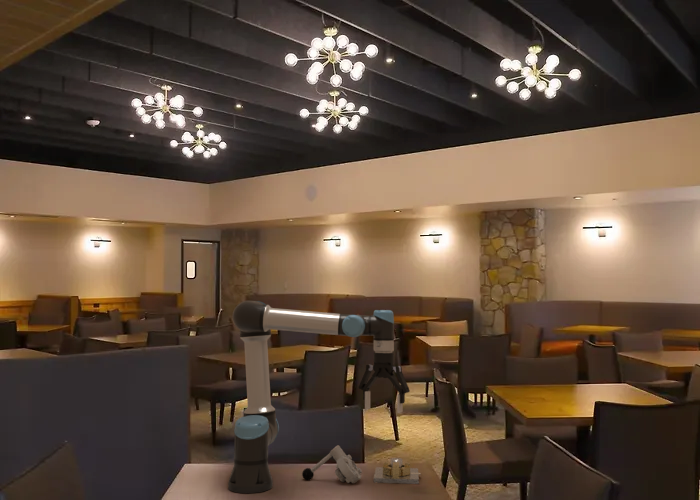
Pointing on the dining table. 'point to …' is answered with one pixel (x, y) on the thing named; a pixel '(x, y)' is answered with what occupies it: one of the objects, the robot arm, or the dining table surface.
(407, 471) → the ring nut
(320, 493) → the dining table surface
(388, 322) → the robot arm
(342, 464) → the mechanical valve
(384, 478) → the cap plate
